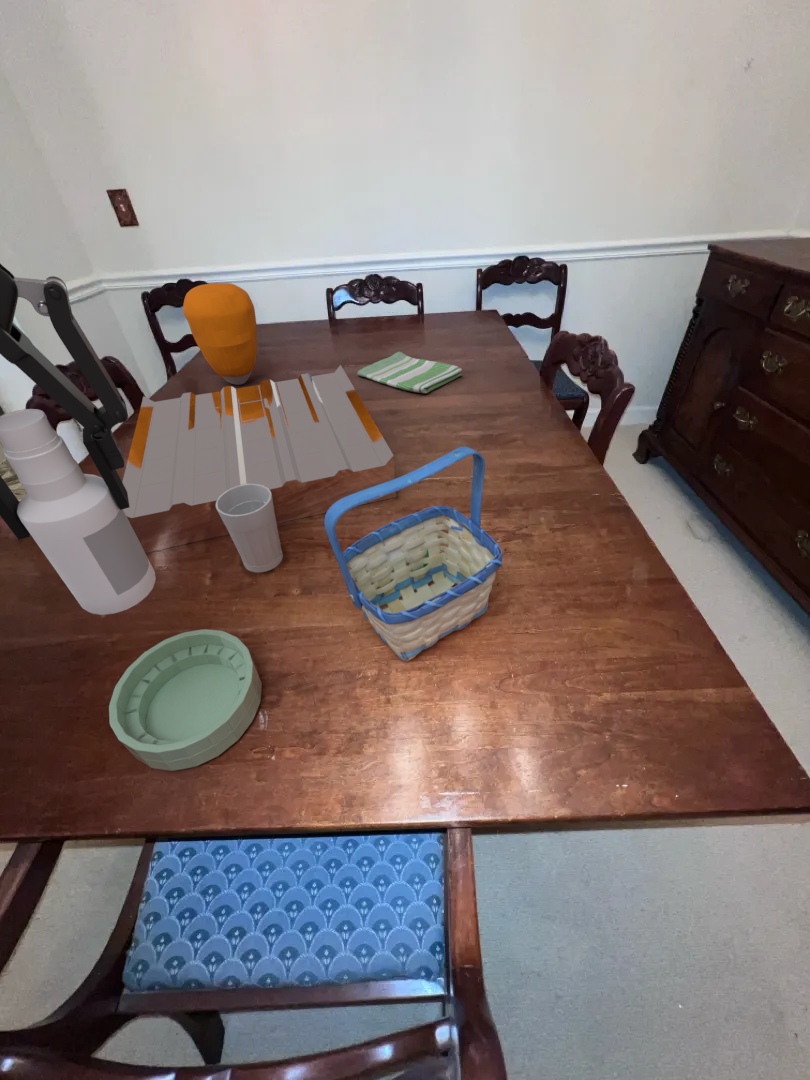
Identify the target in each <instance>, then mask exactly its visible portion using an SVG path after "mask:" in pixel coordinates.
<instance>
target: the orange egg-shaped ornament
mask: <svg viewBox="0 0 810 1080" xmlns="http://www.w3.org/2000/svg"><path fill="white" fill-rule="evenodd" d="M182 311H183V316H184V317H185V319H186V321H187V323H188V326H189V330H190V332H191V334H192V337H193V339H194V341H195V344H196V345H197V347H198V349H199V351H200V352H201V353H202V356H203V358H204V359H205V361H206V363H207V364H208V365H209V366H210V368H211V369H212V370H213V371H214V372H215V373H216V374H217V375H218V377H219V376H220V377H221V378H222V379H223V380H225V381H226V382H227V383H229V384H231V385H234V386H241V385H244V384H246V383H247V381H248V380H249V378H250V377H251V374H252V373H253V371H254V370H255V367H256V360H257V354H258V328H257V317H256V310H255V306H254V303H253V301H252V299H251V296H250V295H249V293H248V292H247V291H246V290H245V289H243V288H242V287H240V286H238V285H236V284H234V283H229V282H221V283H220V282H212V283H205V284H199V285H197V286H195V287H192V288H191V289H189V291H188V292H187V293H186V294H185V296H184V299H183V305H182Z"/></svg>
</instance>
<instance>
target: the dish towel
mask: <svg viewBox="0 0 810 1080" xmlns="http://www.w3.org/2000/svg"><path fill="white" fill-rule="evenodd" d="M462 371H463V370H462V368H461V367H459V366H458V365H455V364H450V363H444V362H440V361H434V360H433V361H432V360H428V359H423V358H415V357H412V356H409V355H406V354H405V353H403V352H402V351H397V352H395V353H393V354H392V355H391V356H388V357H387V358H386V357H385V358H383V359H380V360H378V361H376V362H373V363H372V364H368V365H366V366H364V367H362V368H361V369H359V370H358V371H357V373H356V375H357V376H359V377H363V378H366V379H368V380H371V381H374V382H376V383H379V384H382V385H387V386H389V387H392V388H396V389H399V390H403V391H406V392H410V393H411V392H412V393H418V394H419V393H420V394H428V393H430V392H432V391H434V390H435V389H438V388H440V387H442V386H444V385H446V384H448V383H450V382H452V381H453V380H456V379H457V378H459V377H461V376H463V373H461V372H462Z"/></svg>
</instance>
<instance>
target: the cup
mask: <svg viewBox="0 0 810 1080" xmlns="http://www.w3.org/2000/svg"><path fill="white" fill-rule="evenodd" d="M216 509H217V511H218V513H219V515H220V517H221V518H222V520H223V522H224V524H225V526H226V528H227V530H228V532H229V536H230V538H231V540H232V542H233V544H234V546H235V549H236V551H237V552H238V554H239V556H240V559H241V561H242V564H243V567H244V568H245V569H246V570H247V571H249V572H251V573H264V572H269V571H271V570H273V569H275V568H276V567H278V566H279V565H280V564H281V562H282V561H283V558H284V554H283V549H282V547H281V546H282V545H281V541H280V535H279V530H278V524H277V523H276V518H275V513H274V506H273V500H272V494H271V491H270V490H269V489H268V488H267V487H265V486H263V485H260V484H243V485H239V486H236V487H233V488H231V489H229V490H227V491H225V492H224V493H223V494H221V495H220V496H219V498H218V499H217V501H216Z"/></svg>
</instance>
